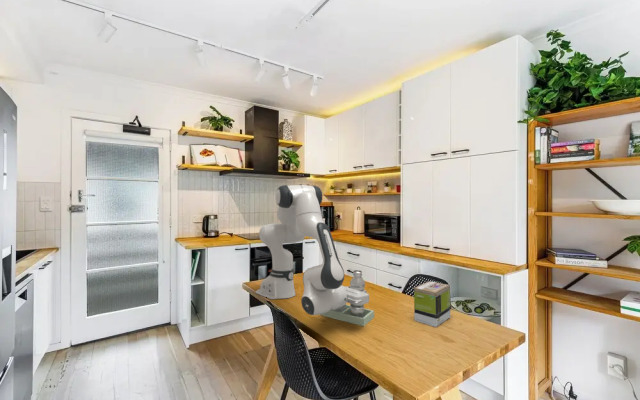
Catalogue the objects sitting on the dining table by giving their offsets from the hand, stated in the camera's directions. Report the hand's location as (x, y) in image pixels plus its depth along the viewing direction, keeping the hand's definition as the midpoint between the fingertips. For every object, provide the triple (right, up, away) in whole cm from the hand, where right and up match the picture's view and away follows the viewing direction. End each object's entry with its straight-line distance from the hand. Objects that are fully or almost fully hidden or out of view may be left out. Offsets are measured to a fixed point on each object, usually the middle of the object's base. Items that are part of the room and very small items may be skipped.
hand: (358, 290), depth 130 cm
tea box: (+32, -13, 0) cm, 35 cm away
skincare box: (-9, -13, +5) cm, 16 cm away
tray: (-5, -12, +2) cm, 14 cm away
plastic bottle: (-1, -12, -1) cm, 12 cm away
